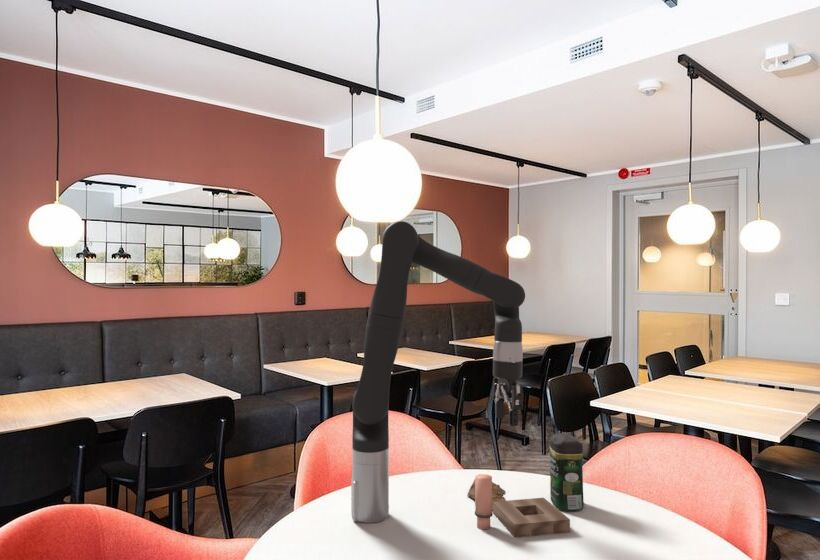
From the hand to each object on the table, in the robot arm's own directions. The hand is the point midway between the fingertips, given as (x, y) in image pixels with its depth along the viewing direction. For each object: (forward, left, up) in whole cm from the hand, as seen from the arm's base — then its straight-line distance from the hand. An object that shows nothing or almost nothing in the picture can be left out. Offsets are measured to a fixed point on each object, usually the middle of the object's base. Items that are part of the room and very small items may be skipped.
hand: (506, 421), depth 140 cm
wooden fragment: (0, +15, -24) cm, 28 cm away
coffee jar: (+18, +2, -24) cm, 30 cm away
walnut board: (+4, -6, -23) cm, 24 cm away
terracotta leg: (-8, -6, -24) cm, 26 cm away
